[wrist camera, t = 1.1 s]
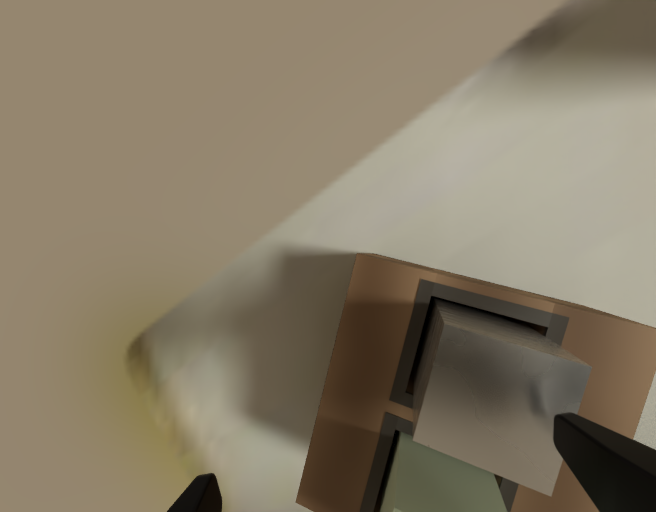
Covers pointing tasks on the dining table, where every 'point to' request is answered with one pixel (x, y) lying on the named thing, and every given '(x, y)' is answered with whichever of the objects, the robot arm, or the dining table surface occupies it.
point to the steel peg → (494, 393)
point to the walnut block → (398, 379)
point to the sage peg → (436, 482)
